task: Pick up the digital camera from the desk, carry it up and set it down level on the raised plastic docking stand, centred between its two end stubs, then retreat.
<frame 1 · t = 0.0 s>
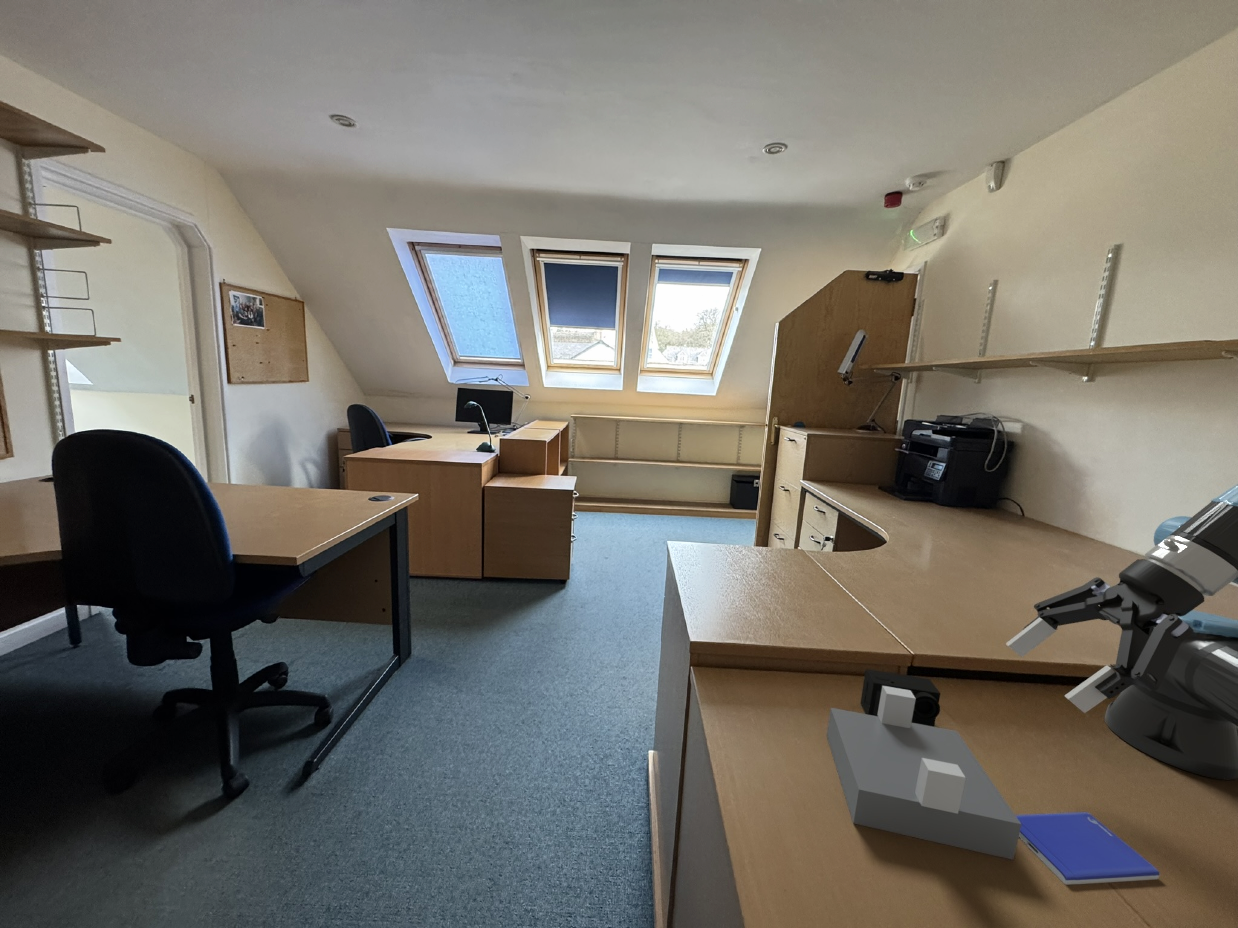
hand: (1040, 675, 70), 15 cm above the worktop, tool tilted 35°, fingers open, 13 cm apart
docking stand: (906, 788, 67), on the worktop
digital camera: (896, 720, 81), on the worktop
hard drive: (1074, 852, 59), on the worktop
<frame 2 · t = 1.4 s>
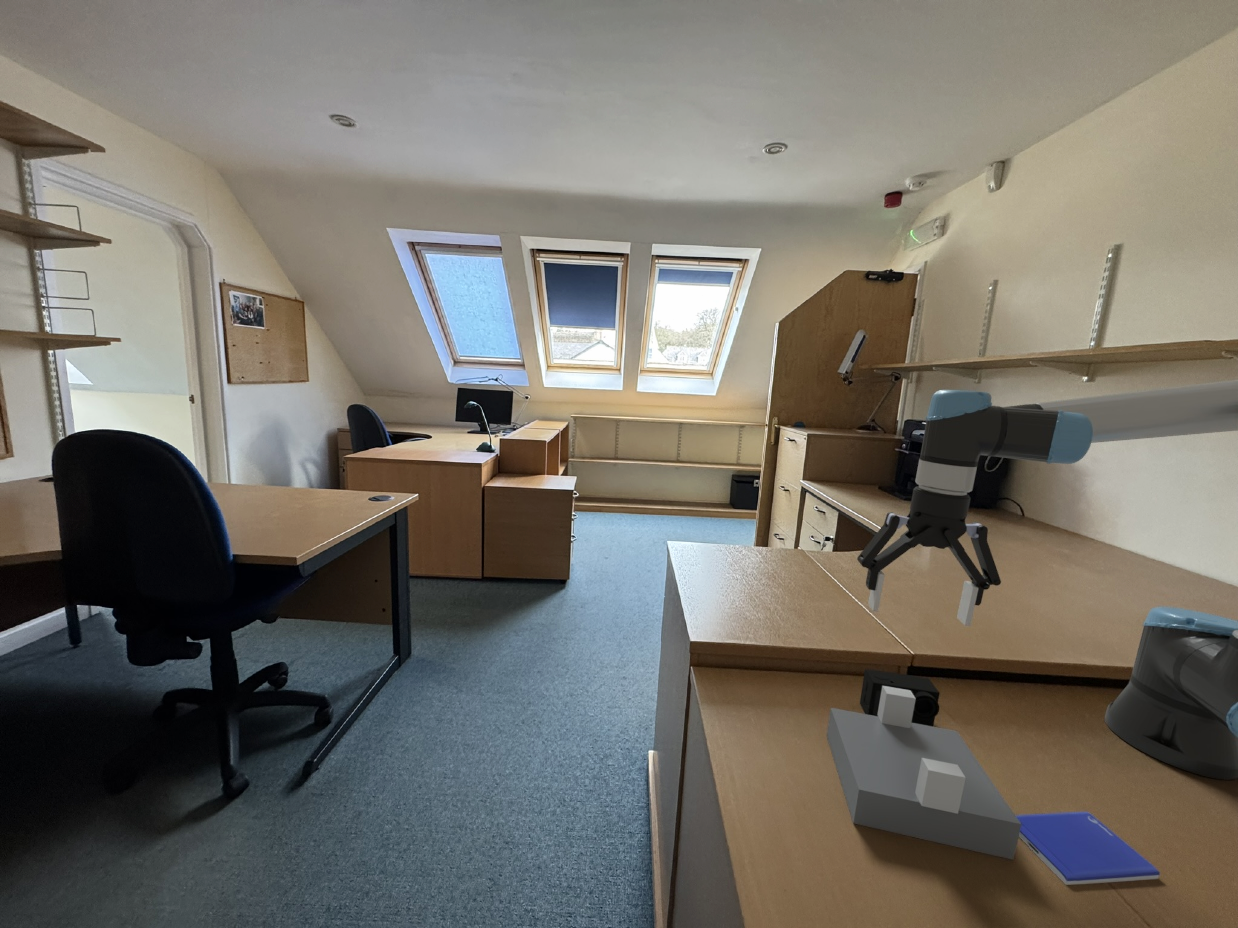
hand: (917, 615, 78), 19 cm above the worktop, tool pointing down, fingers open, 13 cm apart
nothing on the worktop moved.
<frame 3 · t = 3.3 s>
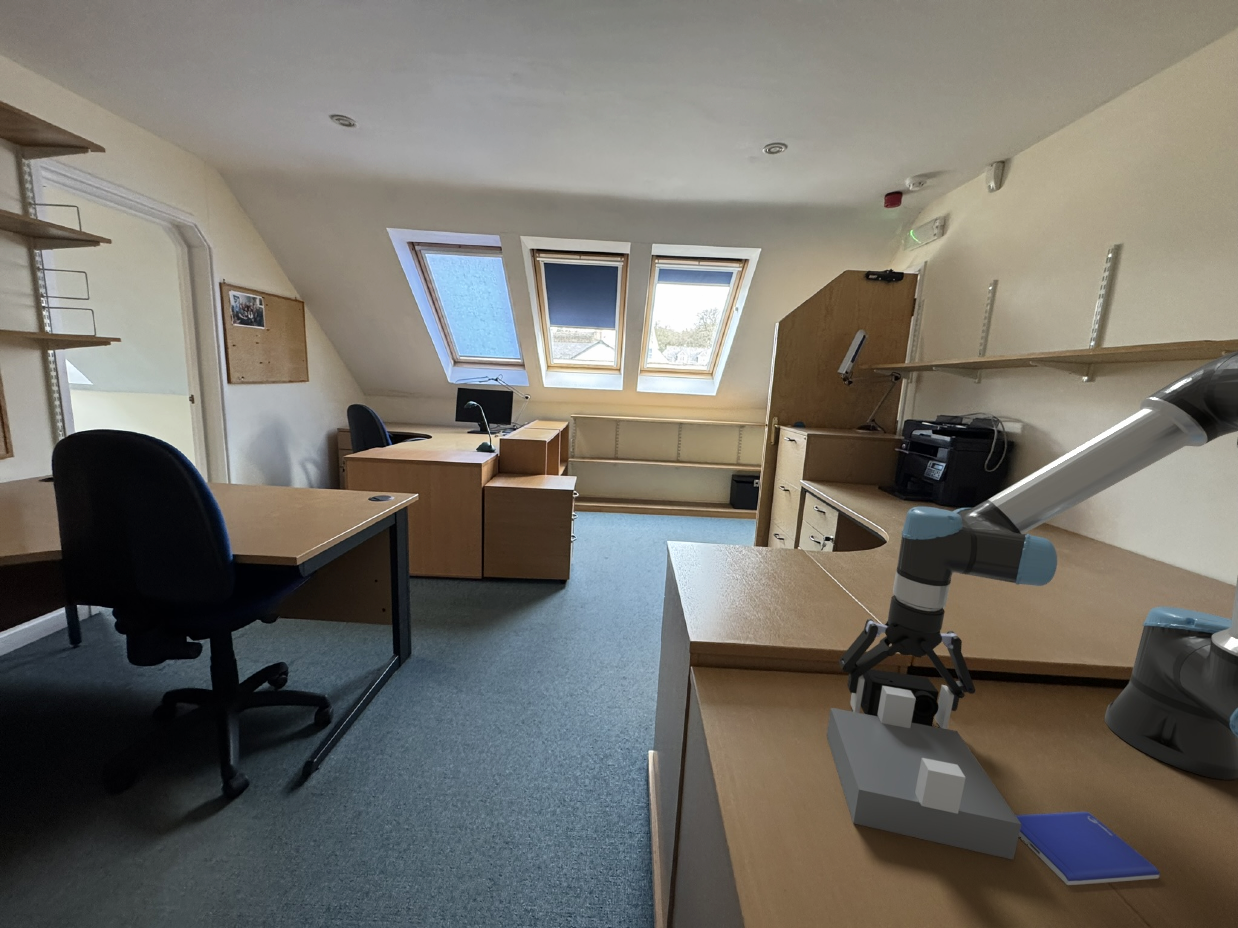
hand: (896, 716, 81), 0 cm above the worktop, tool pointing down, fingers open, 13 cm apart
nothing on the worktop moved.
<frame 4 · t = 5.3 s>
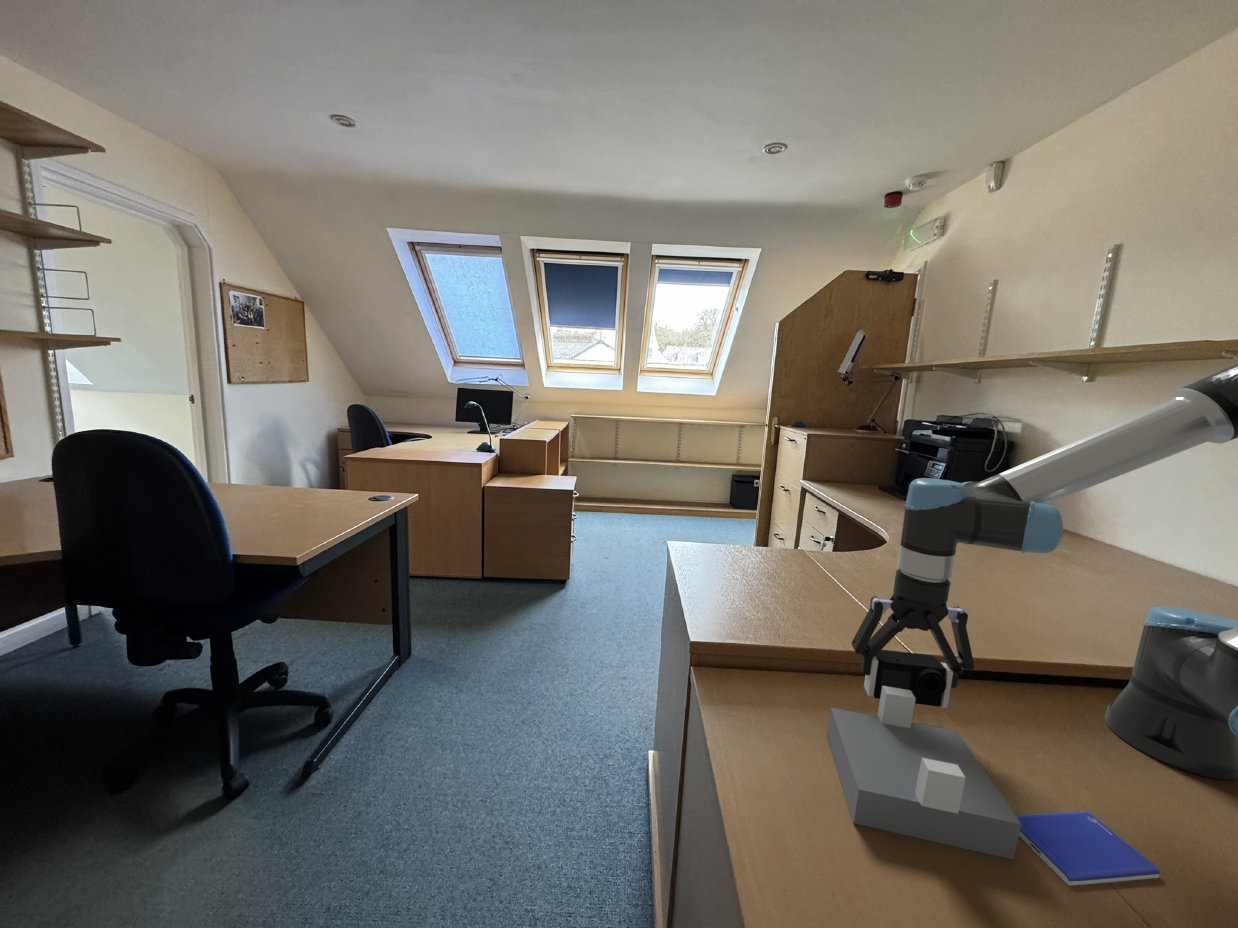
hand: (904, 697, 81), 4 cm above the worktop, tool pointing down, fingers closed on digital camera, 10 cm apart
digital camera: (902, 698, 81), point 4 cm above the worktop, touching gripper
everything else where it was.
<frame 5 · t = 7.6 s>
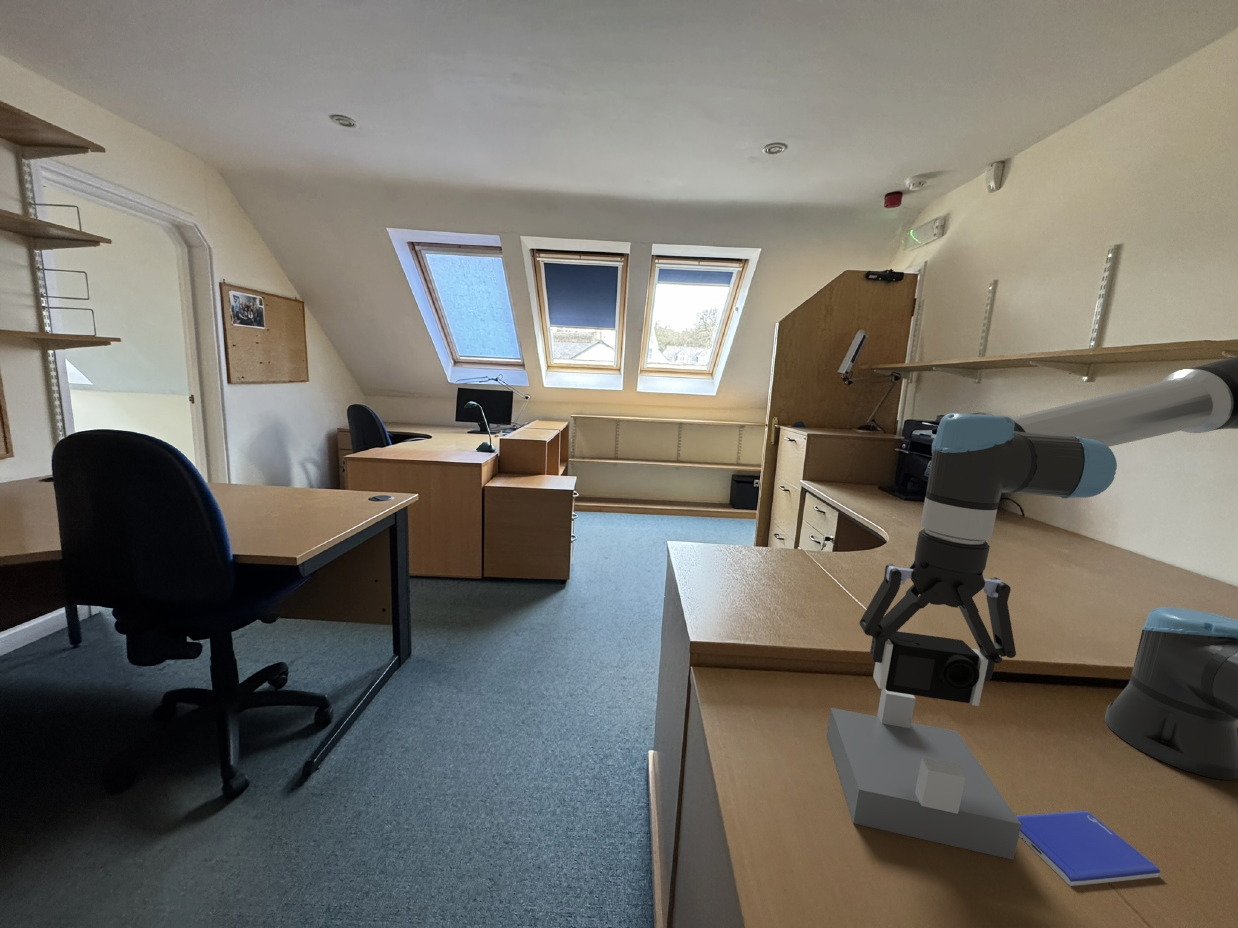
hand: (923, 690, 64), 15 cm above the worktop, tool pointing down, fingers closed on digital camera, 10 cm apart
digital camera: (921, 692, 65), point 15 cm above the worktop, touching gripper
everything else where it was.
when the fingers open (6 cm above the worktop, at t = 9.9 s): digital camera stays where it is, resting on docking stand.
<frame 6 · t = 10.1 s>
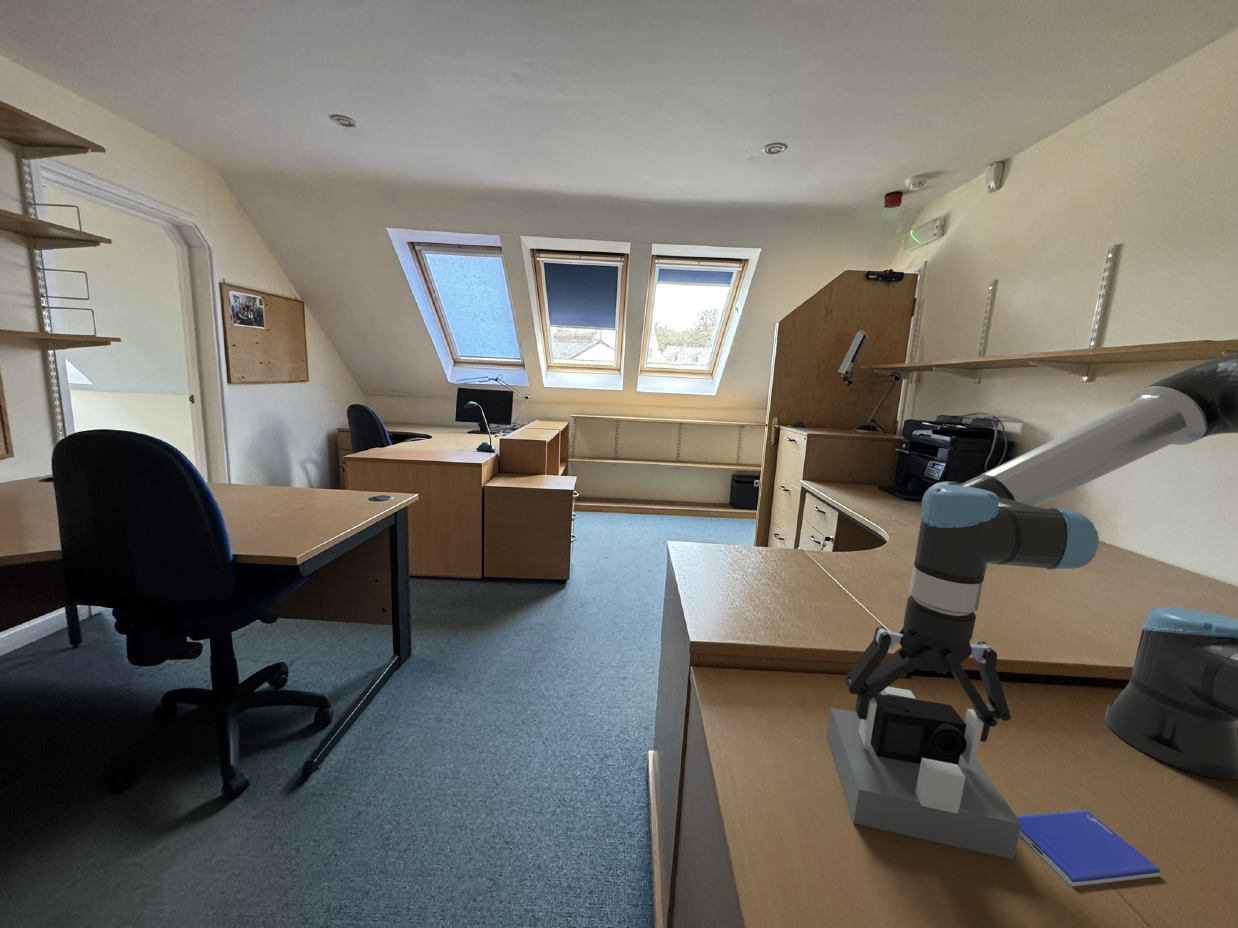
hand: (914, 748, 66), 6 cm above the worktop, tool pointing down, fingers open, 12 cm apart
digital camera: (911, 756, 66), point 5 cm above the worktop, touching docking stand
everything else where it was.
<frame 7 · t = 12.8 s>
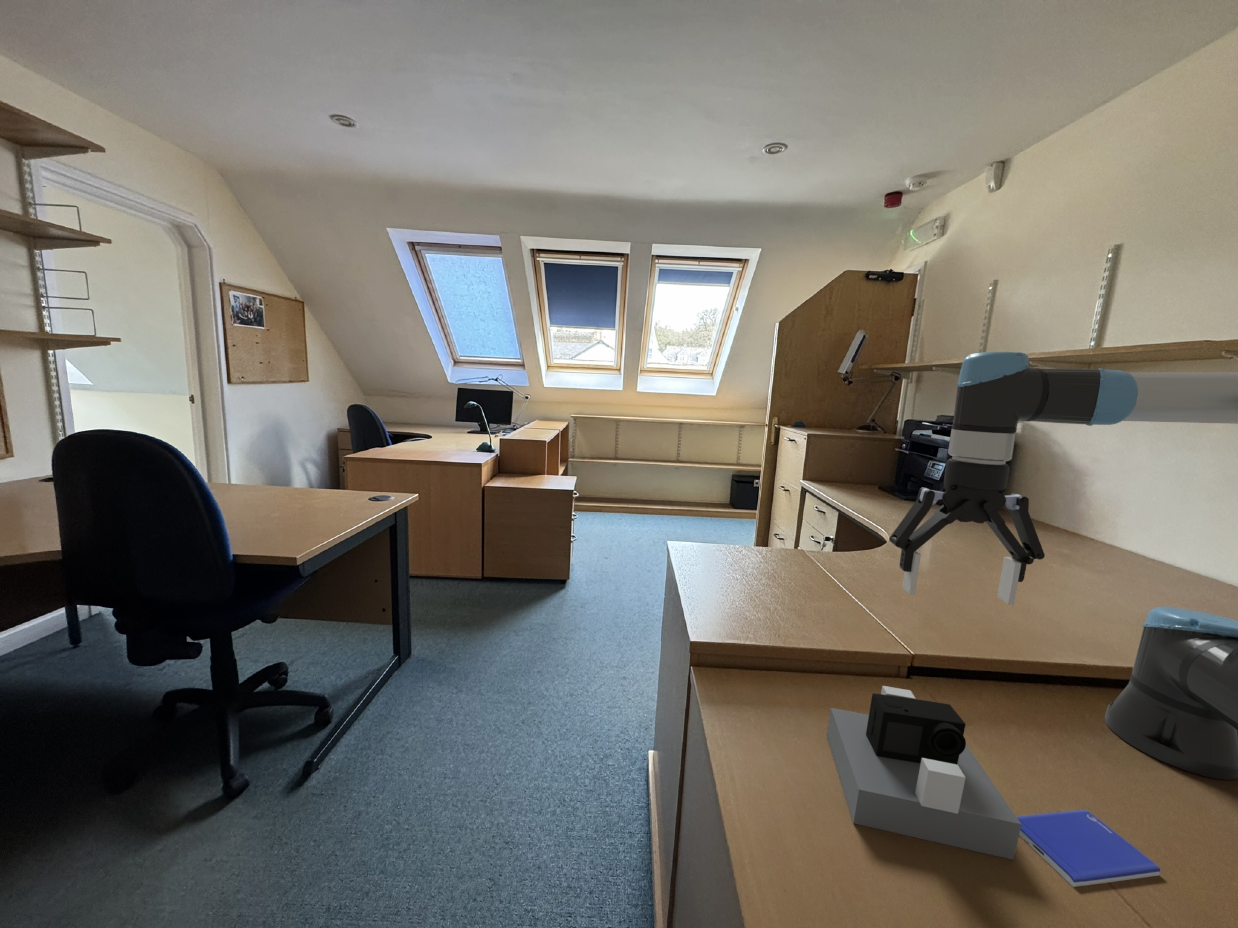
hand: (956, 595, 73), 25 cm above the worktop, tool pointing down, fingers open, 13 cm apart
nothing on the worktop moved.
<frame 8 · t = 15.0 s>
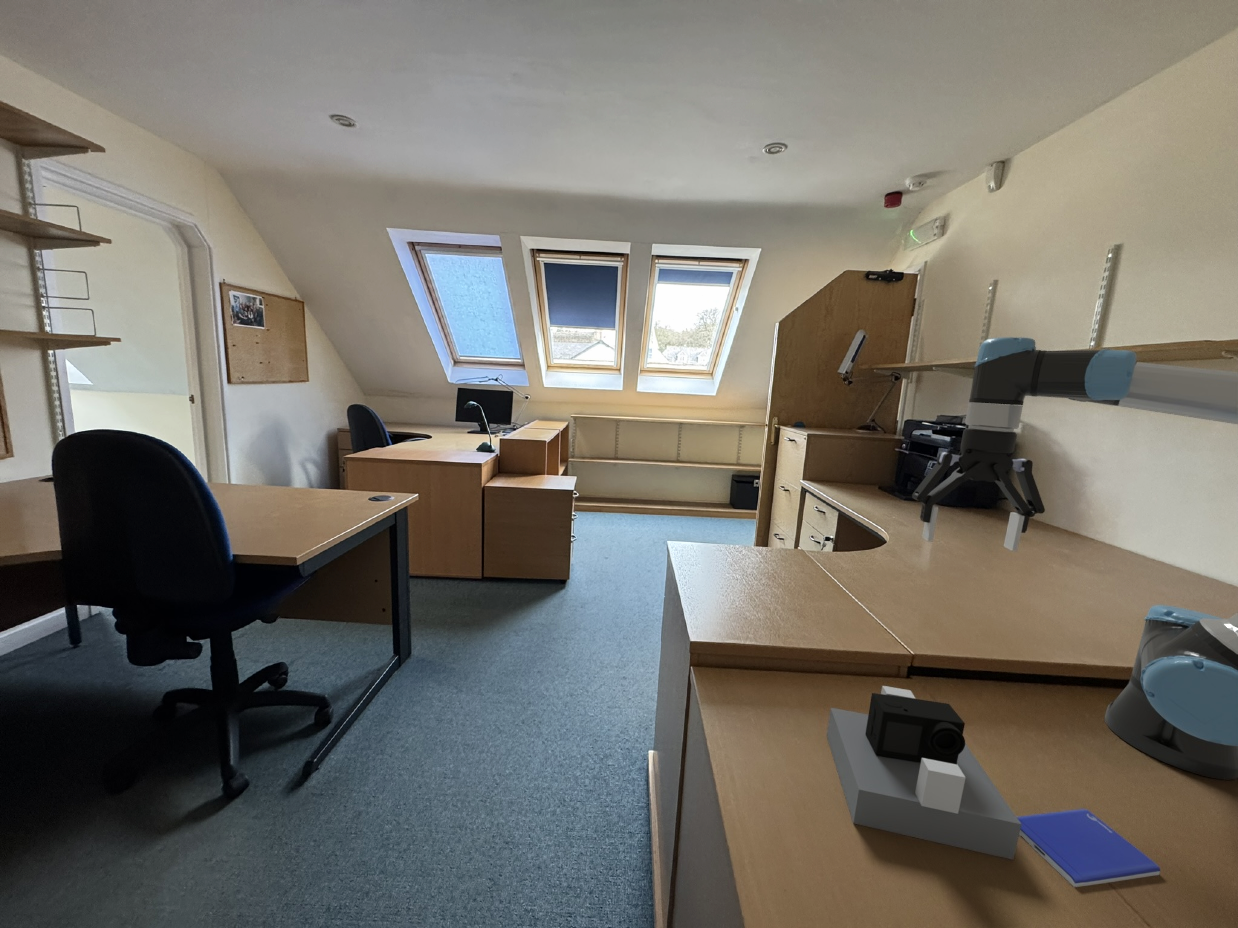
hand: (967, 544, 87), 29 cm above the worktop, tool pointing down, fingers open, 13 cm apart
nothing on the worktop moved.
at the end: digital camera 0.6 cm off-centre on the docking stand, point 4.8 cm above the docking stand's base; digital camera tilted 0°; the gripper is holding nothing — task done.
